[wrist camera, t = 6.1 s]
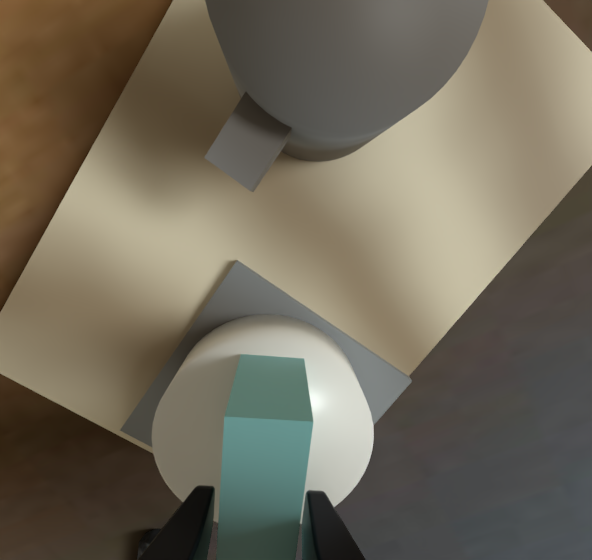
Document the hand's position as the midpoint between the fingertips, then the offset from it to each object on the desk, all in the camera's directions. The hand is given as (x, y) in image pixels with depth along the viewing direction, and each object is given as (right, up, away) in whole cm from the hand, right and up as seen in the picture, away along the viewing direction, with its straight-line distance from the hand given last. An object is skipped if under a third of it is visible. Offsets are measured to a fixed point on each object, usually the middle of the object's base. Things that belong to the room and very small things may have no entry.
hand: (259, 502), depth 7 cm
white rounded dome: (0, +1, +3) cm, 4 cm away
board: (+1, +7, +4) cm, 8 cm away
